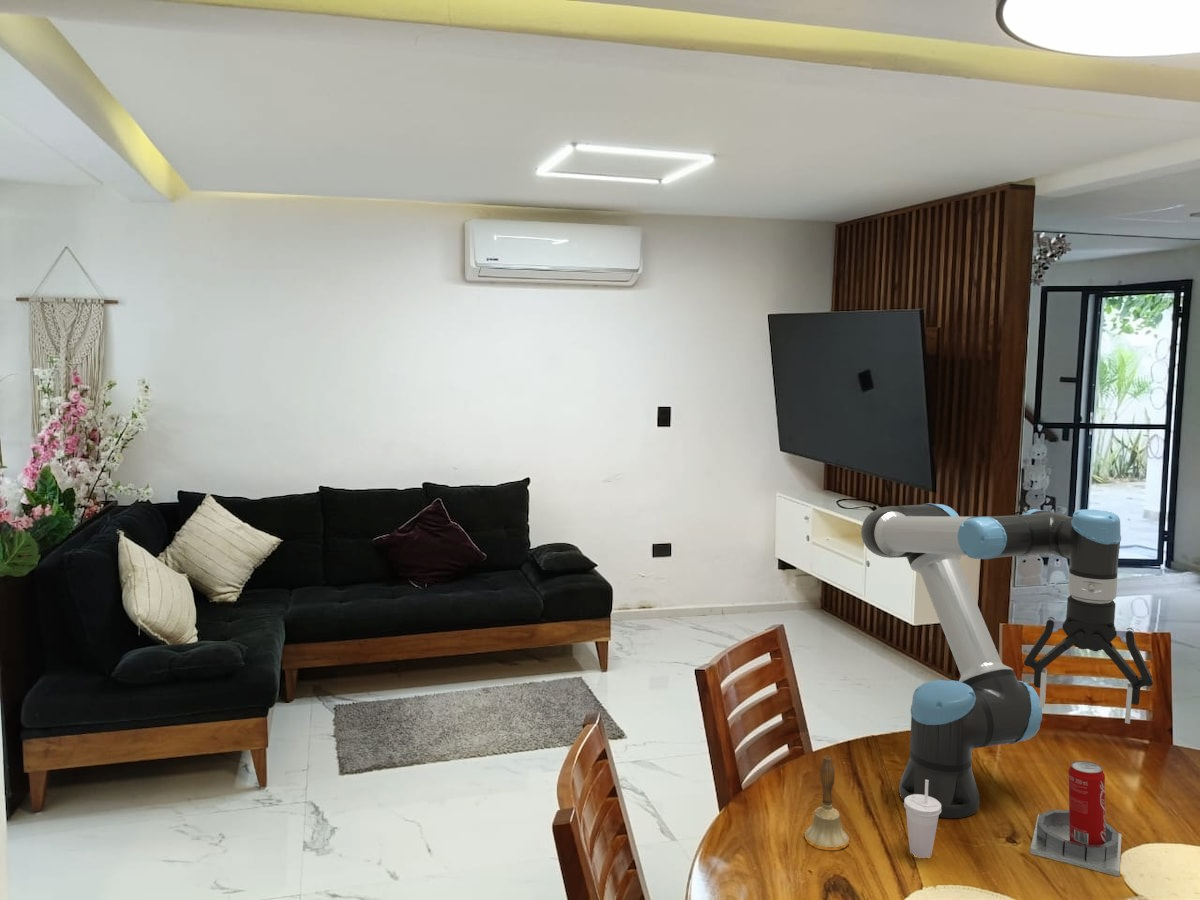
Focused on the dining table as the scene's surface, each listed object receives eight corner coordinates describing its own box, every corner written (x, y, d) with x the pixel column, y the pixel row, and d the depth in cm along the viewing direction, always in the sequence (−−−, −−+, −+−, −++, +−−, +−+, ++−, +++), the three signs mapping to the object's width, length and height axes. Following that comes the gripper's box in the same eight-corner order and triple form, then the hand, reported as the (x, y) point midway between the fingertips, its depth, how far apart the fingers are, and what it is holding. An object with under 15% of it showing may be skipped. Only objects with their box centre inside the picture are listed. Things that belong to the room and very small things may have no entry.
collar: (1030, 853, 163) (1031, 835, 163) (1037, 819, 175) (1038, 801, 175) (1119, 876, 156) (1120, 857, 156) (1121, 839, 168) (1122, 821, 168)
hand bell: (824, 856, 163) (826, 771, 161) (794, 834, 170) (796, 753, 168) (859, 844, 166) (862, 761, 165) (828, 823, 174) (830, 744, 172)
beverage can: (1106, 857, 160) (1111, 777, 158) (1064, 848, 163) (1069, 769, 161) (1104, 841, 165) (1109, 763, 164) (1064, 833, 168) (1068, 756, 167)
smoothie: (935, 867, 159) (938, 791, 157) (897, 856, 162) (900, 782, 161) (942, 850, 164) (946, 776, 163) (906, 840, 168) (909, 768, 166)
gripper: (1012, 592, 164) (1005, 705, 166) (1175, 614, 151) (1165, 735, 153) (1017, 583, 170) (1011, 692, 172) (1174, 603, 157) (1165, 719, 160)
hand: (1083, 712), depth 163 cm, fingers open, 13 cm apart
